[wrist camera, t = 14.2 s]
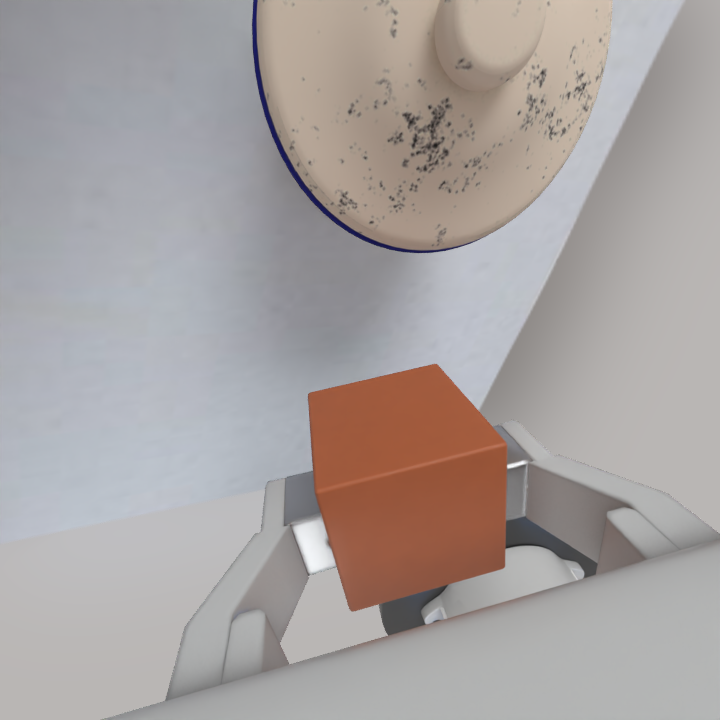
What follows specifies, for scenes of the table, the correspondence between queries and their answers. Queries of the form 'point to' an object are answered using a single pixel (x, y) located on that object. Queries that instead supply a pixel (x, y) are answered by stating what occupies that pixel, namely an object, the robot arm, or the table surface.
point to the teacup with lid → (427, 107)
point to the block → (407, 484)
